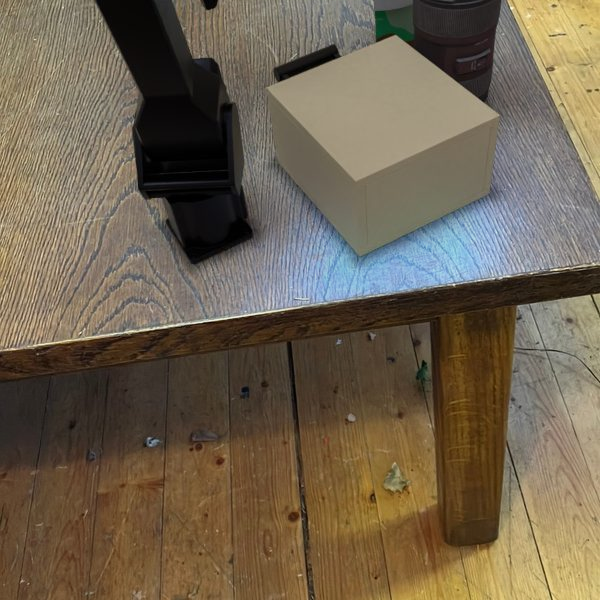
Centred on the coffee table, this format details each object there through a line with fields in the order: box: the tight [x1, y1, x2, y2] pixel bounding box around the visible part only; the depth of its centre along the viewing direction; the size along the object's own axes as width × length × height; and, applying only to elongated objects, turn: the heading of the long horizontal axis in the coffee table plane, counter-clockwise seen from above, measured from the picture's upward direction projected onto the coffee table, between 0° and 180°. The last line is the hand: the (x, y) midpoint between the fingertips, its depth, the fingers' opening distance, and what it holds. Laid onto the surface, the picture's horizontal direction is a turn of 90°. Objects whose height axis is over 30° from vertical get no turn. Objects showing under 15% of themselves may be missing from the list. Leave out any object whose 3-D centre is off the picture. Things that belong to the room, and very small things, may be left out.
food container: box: [373, 0, 414, 49], centre depth 81 cm, size 12×6×10 cm, turn 168°
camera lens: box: [413, 0, 502, 104], centre depth 71 cm, size 8×8×15 cm
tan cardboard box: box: [265, 35, 501, 258], centre depth 67 cm, size 16×14×9 cm
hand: (210, 7), depth 71 cm, fingers closed
